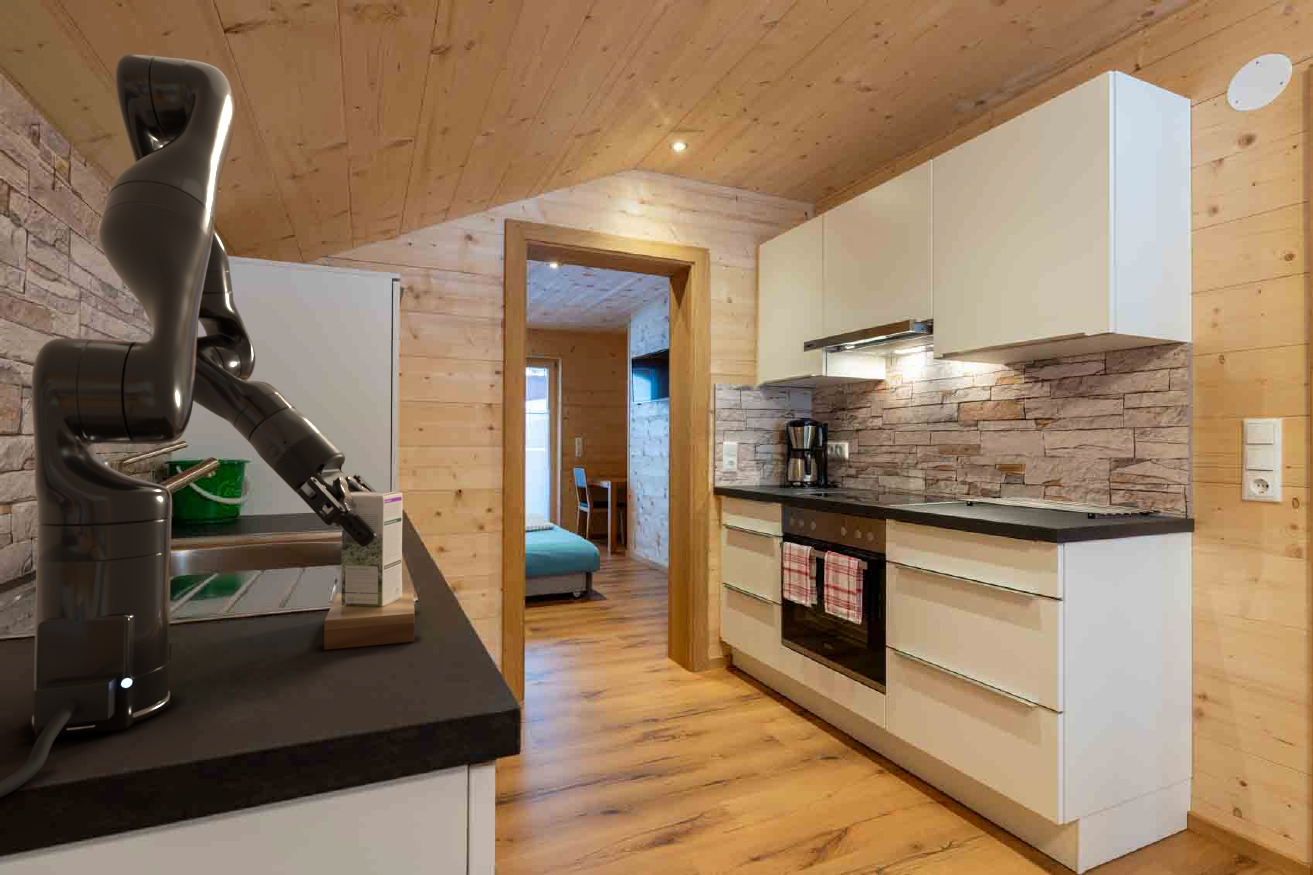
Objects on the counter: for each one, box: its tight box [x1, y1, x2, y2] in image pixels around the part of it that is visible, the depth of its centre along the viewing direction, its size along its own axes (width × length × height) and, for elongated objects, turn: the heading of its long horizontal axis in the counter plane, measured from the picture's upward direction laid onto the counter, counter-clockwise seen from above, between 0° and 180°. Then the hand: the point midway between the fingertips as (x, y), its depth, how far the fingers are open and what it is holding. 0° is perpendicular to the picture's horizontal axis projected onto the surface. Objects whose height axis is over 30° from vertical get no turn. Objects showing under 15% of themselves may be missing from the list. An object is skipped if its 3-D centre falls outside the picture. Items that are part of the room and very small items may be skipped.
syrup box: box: [341, 491, 404, 606], centre depth 89 cm, size 6×6×14 cm
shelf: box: [323, 587, 416, 651], centre depth 88 cm, size 16×10×4 cm, turn 21°
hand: (384, 537), depth 88 cm, fingers open, 8 cm apart
